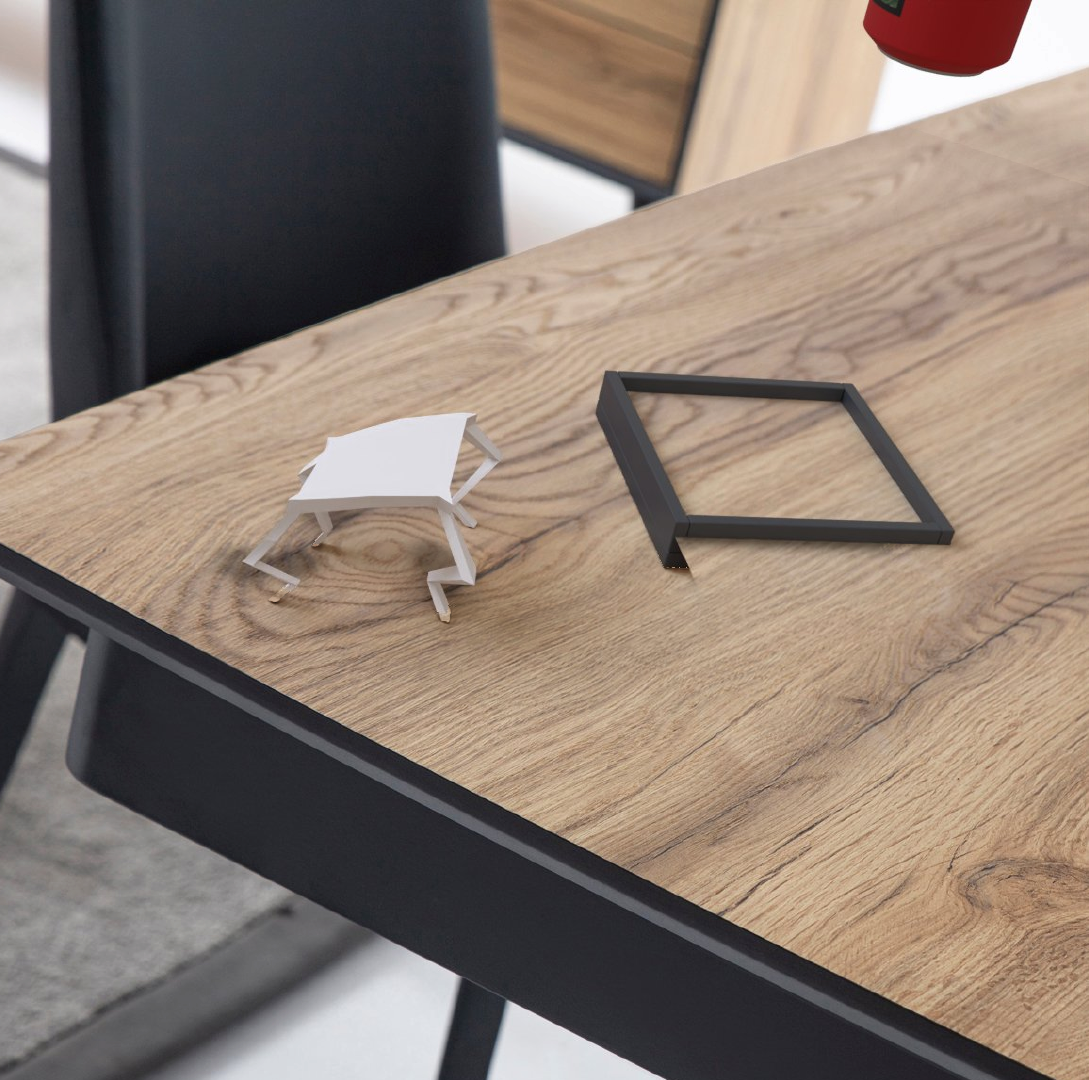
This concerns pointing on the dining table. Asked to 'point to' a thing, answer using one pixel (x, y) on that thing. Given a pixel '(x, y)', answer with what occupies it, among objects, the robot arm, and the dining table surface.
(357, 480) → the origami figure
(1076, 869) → the dining table surface
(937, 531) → the open square outline
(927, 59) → the beverage can
